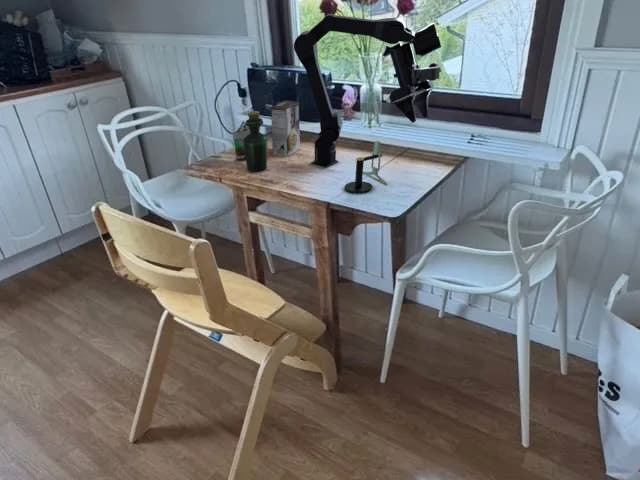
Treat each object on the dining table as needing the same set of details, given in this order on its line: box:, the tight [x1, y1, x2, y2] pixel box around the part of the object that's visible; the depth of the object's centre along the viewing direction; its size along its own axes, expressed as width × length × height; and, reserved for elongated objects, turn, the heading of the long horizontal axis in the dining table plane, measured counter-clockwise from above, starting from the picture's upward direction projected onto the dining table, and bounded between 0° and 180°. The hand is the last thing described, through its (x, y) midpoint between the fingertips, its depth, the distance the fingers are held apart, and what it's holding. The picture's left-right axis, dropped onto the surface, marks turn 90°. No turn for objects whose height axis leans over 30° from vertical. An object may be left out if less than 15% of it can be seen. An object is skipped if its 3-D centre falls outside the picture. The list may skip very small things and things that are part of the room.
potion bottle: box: [243, 110, 269, 173], centre depth 169 cm, size 8×8×18 cm
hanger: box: [363, 140, 388, 187], centre depth 150 cm, size 1×12×11 cm, turn 22°
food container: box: [232, 122, 250, 162], centre depth 182 cm, size 12×6×10 cm, turn 160°
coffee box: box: [270, 100, 301, 158], centre depth 180 cm, size 9×6×16 cm
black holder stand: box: [344, 152, 384, 195], centre depth 151 cm, size 8×12×9 cm
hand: (420, 119), depth 152 cm, fingers open, 9 cm apart
